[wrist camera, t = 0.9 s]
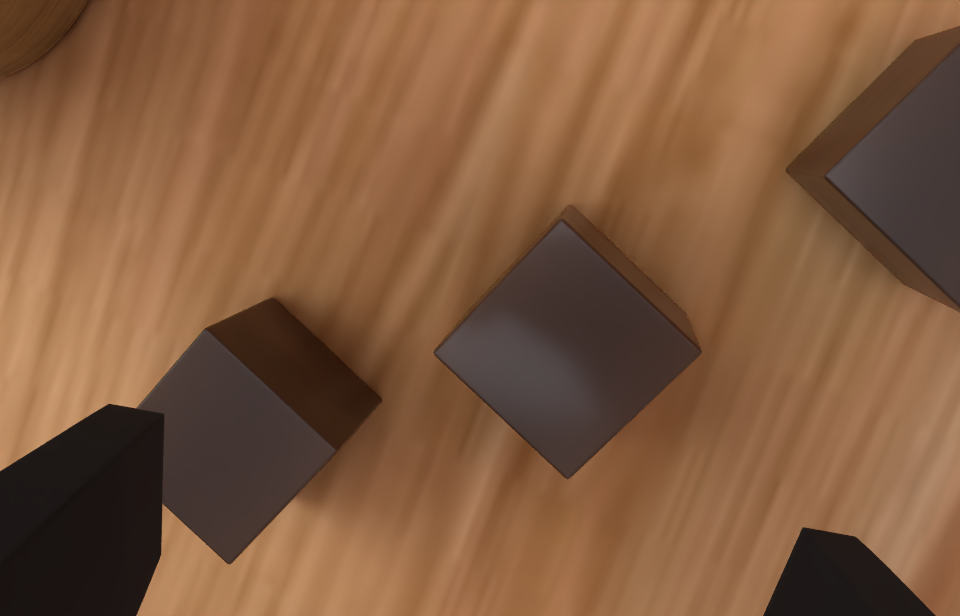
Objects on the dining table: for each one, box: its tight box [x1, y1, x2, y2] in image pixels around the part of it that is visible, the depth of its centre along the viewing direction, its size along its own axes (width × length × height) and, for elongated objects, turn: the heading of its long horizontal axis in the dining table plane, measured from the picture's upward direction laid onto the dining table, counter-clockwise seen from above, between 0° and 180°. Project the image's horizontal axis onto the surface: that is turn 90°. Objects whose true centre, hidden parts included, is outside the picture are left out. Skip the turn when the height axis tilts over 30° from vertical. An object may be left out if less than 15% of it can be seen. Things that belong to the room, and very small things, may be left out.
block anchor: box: [136, 298, 382, 564], centre depth 25 cm, size 4×4×4 cm
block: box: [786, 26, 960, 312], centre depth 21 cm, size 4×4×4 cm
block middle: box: [434, 205, 702, 479], centre depth 23 cm, size 4×4×4 cm
